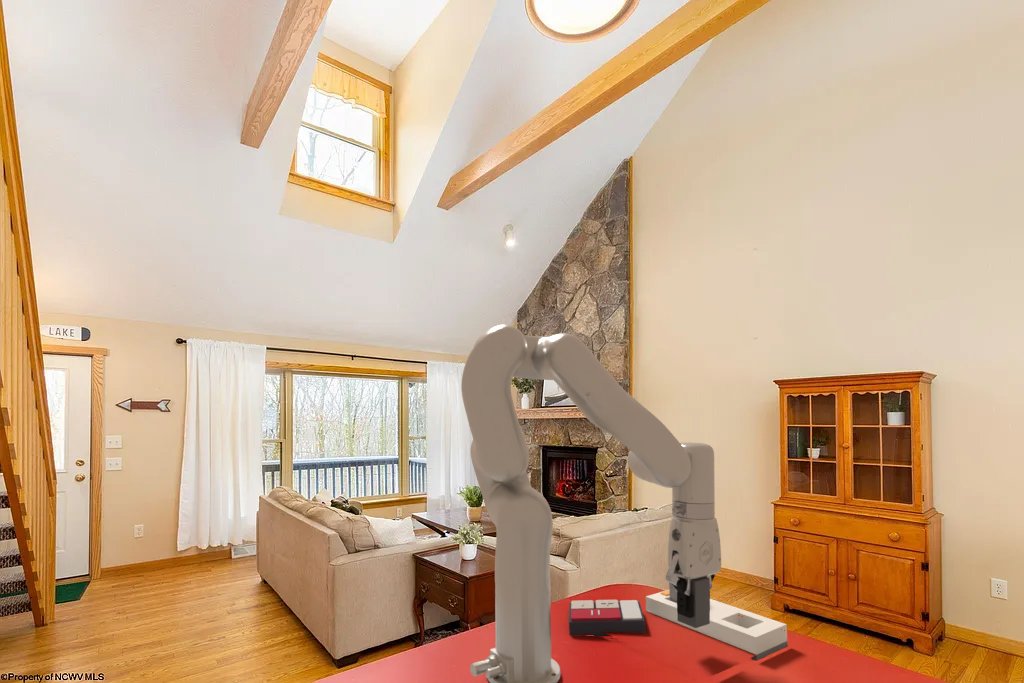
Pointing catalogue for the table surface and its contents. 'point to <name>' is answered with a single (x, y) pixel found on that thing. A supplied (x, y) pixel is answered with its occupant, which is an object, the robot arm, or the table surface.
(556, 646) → the table surface
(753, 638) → the power strip
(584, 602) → the calculator
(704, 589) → the plug
